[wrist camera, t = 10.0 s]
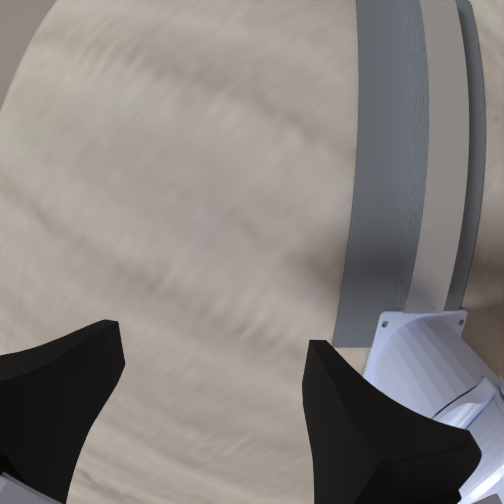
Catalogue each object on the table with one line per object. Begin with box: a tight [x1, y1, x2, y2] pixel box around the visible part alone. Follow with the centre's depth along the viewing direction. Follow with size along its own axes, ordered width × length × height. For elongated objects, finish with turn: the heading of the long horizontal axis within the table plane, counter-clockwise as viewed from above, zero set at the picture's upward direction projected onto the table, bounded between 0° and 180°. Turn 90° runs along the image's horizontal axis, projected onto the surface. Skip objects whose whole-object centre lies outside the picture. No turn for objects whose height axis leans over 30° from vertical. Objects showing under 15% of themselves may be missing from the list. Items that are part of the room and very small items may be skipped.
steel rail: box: [390, 0, 469, 314], centre depth 15 cm, size 22×3×2 cm, turn 177°
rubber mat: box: [332, 0, 485, 347], centre depth 17 cm, size 28×10×1 cm, turn 177°
